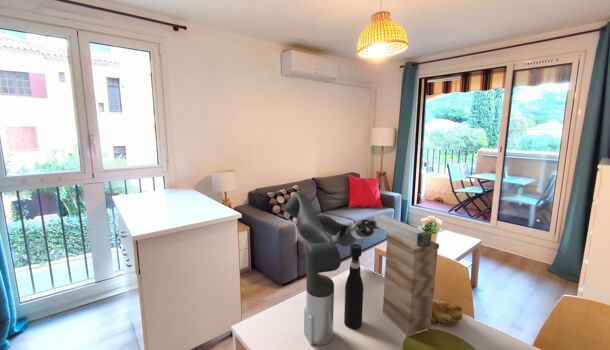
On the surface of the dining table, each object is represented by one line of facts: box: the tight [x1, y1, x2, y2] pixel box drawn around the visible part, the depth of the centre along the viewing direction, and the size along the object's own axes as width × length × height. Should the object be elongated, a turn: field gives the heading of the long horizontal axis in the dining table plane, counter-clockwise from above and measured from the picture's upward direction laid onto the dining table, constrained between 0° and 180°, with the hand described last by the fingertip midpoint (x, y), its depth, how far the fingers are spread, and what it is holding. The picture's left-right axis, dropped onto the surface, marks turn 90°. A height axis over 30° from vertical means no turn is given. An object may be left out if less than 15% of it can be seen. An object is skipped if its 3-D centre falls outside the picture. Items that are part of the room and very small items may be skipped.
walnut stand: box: [382, 233, 440, 337], centre depth 103 cm, size 11×14×32 cm
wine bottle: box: [343, 243, 364, 330], centre depth 102 cm, size 6×6×30 cm
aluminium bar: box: [373, 213, 433, 247], centre depth 105 cm, size 4×24×4 cm, turn 27°
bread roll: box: [431, 299, 463, 327], centre depth 106 cm, size 13×10×8 cm
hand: (382, 221), depth 115 cm, fingers open, 8 cm apart
